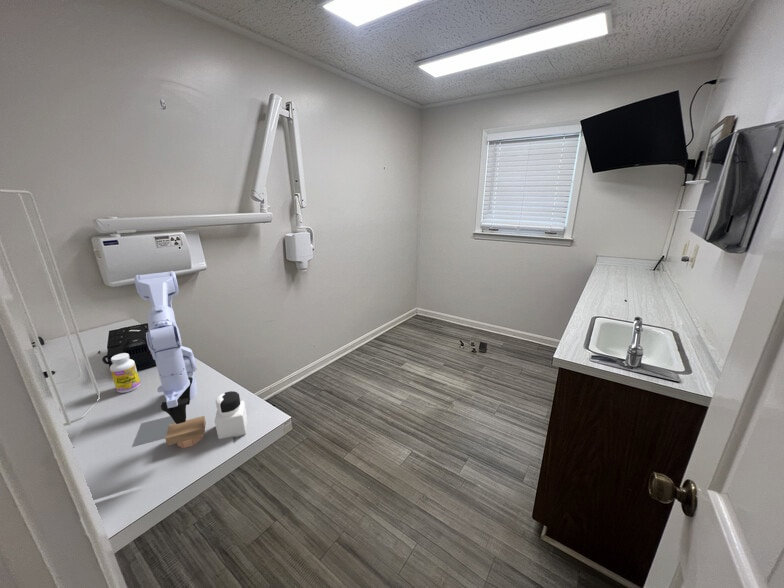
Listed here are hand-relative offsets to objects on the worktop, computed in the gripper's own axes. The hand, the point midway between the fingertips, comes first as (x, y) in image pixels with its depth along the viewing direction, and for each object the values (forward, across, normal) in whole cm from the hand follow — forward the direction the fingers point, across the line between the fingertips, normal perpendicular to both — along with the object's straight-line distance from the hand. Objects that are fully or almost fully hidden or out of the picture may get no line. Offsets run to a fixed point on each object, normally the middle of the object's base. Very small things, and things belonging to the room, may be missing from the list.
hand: (183, 413), depth 84 cm
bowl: (+10, 0, 0) cm, 10 cm away
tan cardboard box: (+7, 0, 0) cm, 7 cm away
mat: (+10, -8, -9) cm, 16 cm away
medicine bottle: (+10, 0, +11) cm, 15 cm away
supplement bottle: (+10, -38, -23) cm, 46 cm away
